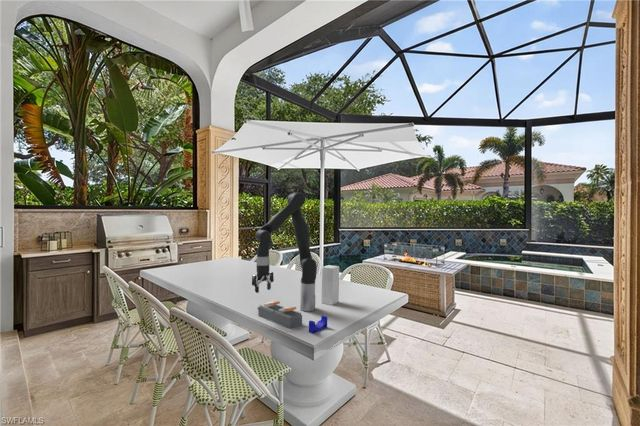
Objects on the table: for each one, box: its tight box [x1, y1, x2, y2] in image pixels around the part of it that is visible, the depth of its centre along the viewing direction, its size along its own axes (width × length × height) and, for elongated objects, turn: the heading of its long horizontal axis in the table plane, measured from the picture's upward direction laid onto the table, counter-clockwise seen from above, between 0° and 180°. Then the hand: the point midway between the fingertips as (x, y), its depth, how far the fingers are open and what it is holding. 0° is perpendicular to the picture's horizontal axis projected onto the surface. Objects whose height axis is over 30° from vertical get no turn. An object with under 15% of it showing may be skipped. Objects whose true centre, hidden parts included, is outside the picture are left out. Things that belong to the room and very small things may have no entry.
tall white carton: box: [321, 264, 340, 306], centre depth 210 cm, size 9×9×25 cm
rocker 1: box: [263, 301, 281, 306], centre depth 180 cm, size 9×5×1 cm, turn 48°
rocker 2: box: [279, 306, 297, 311], centre depth 171 cm, size 9×5×1 cm, turn 48°
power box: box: [257, 304, 303, 329], centre depth 178 cm, size 34×9×6 cm, turn 48°
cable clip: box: [308, 315, 328, 334], centre depth 163 cm, size 12×4×6 cm, turn 141°
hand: (263, 291), depth 180 cm, fingers open, 8 cm apart
